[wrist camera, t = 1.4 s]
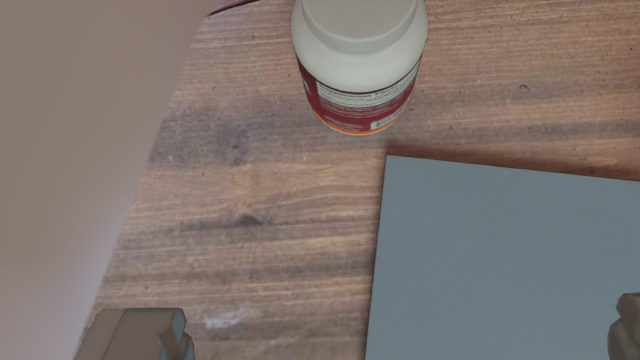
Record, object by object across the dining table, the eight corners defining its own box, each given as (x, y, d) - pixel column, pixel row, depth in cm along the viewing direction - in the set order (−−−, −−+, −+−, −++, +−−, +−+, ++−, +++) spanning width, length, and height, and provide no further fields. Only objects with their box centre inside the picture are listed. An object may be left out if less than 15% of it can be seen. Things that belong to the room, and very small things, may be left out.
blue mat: (362, 377, 29) (362, 380, 28) (385, 157, 31) (386, 154, 30) (639, 417, 27) (648, 421, 27) (642, 185, 30) (649, 182, 29)
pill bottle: (319, 31, 33) (300, -98, 22) (420, 49, 32) (453, -74, 21) (295, 127, 32) (263, 42, 21) (400, 148, 31) (423, 71, 20)
